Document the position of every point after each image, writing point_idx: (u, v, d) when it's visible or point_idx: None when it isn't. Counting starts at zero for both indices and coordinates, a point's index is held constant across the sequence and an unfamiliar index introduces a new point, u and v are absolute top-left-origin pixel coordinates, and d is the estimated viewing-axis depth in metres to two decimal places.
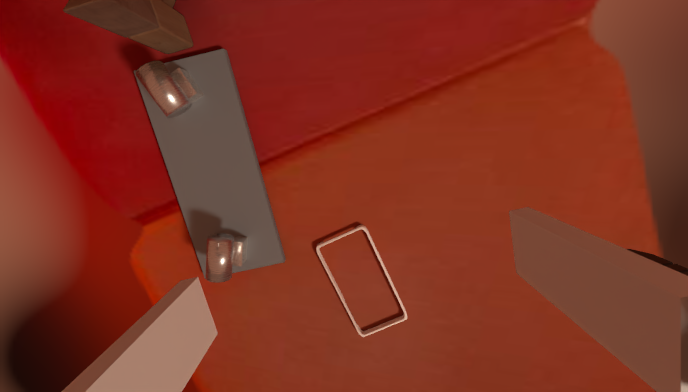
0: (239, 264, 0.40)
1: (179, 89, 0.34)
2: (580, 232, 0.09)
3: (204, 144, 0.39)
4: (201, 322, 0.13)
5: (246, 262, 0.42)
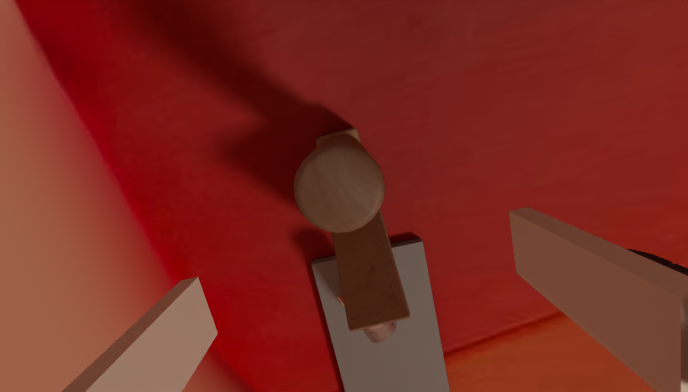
0: None
1: None
2: (580, 232, 0.09)
3: (385, 341, 0.33)
4: (201, 322, 0.13)
5: None
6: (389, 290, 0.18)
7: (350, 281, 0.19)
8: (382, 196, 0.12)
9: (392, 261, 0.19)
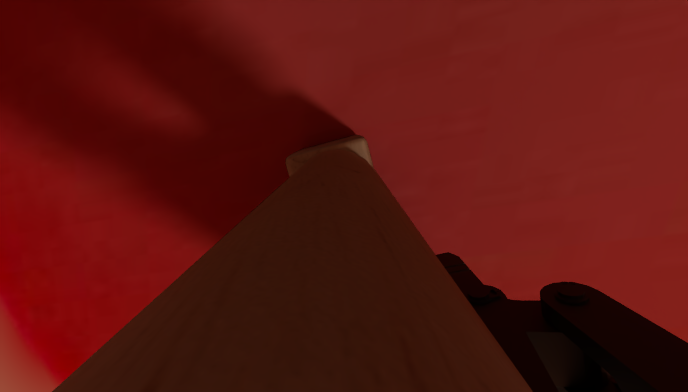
0: None
1: None
2: None
3: None
4: None
5: None
6: None
7: None
8: None
9: None
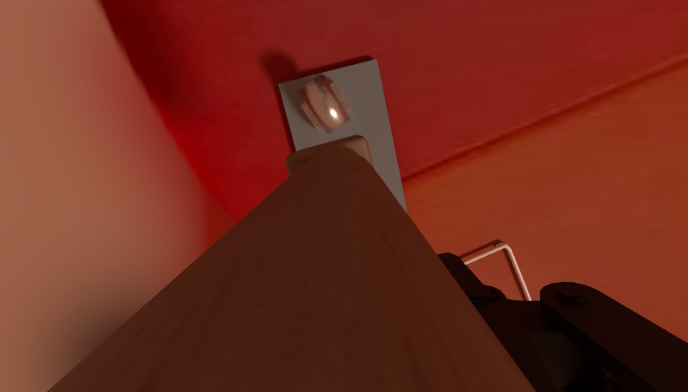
0: None
1: (342, 105, 0.31)
2: None
3: None
4: None
5: None
6: None
7: None
8: None
9: None
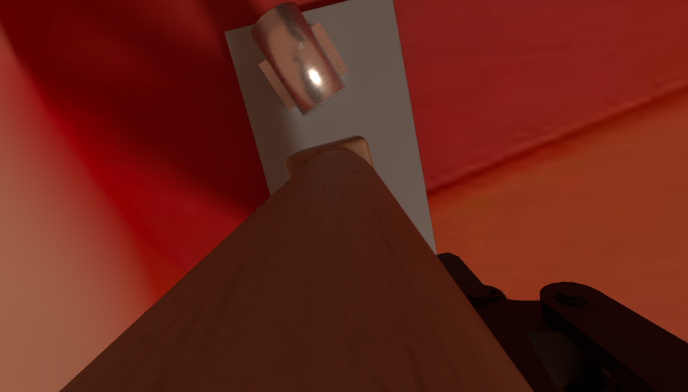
0: None
1: (330, 61, 0.17)
2: None
3: None
4: None
5: None
6: None
7: None
8: None
9: None
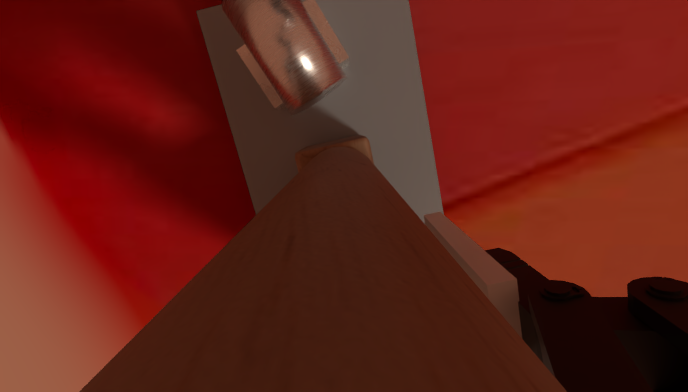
0: None
1: (326, 43, 0.13)
2: (461, 234, 0.11)
3: None
4: None
5: None
6: None
7: None
8: None
9: None
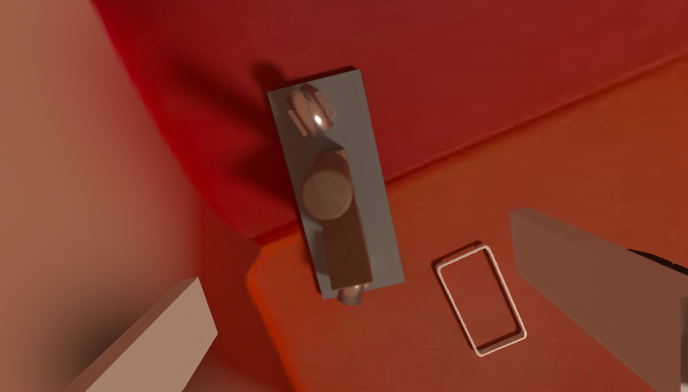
0: (366, 285, 0.39)
1: (326, 111, 0.33)
2: (580, 232, 0.09)
3: None
4: (201, 322, 0.13)
5: None
6: (360, 264, 0.27)
7: (334, 258, 0.28)
8: (351, 199, 0.21)
9: (364, 245, 0.28)
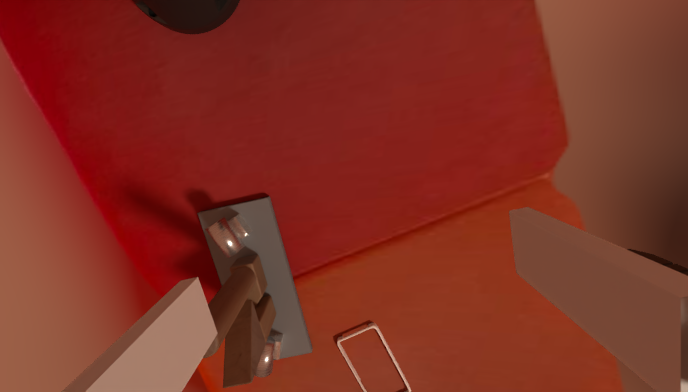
0: (277, 358, 0.50)
1: (237, 237, 0.44)
2: (580, 232, 0.09)
3: None
4: (201, 322, 0.13)
5: (281, 352, 0.52)
6: (245, 367, 0.38)
7: (228, 361, 0.39)
8: (217, 345, 0.32)
9: (250, 351, 0.39)
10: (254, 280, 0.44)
